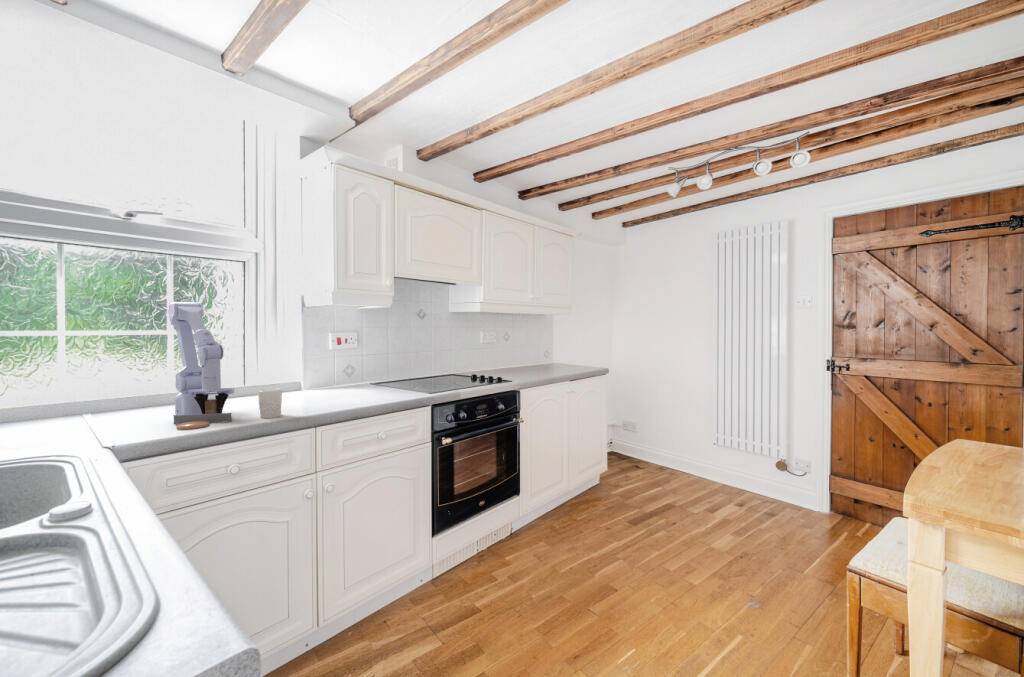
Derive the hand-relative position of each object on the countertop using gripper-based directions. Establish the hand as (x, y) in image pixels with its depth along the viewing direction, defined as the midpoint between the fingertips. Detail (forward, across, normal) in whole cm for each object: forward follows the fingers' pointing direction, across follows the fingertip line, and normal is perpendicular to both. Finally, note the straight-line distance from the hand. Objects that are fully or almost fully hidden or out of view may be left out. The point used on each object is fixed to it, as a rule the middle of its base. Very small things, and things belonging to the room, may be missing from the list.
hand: (212, 414), depth 161 cm
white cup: (+2, +20, 0) cm, 20 cm away
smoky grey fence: (+2, 0, -6) cm, 7 cm away
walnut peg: (+2, 0, 0) cm, 2 cm away
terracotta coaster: (+2, 0, -13) cm, 13 cm away
